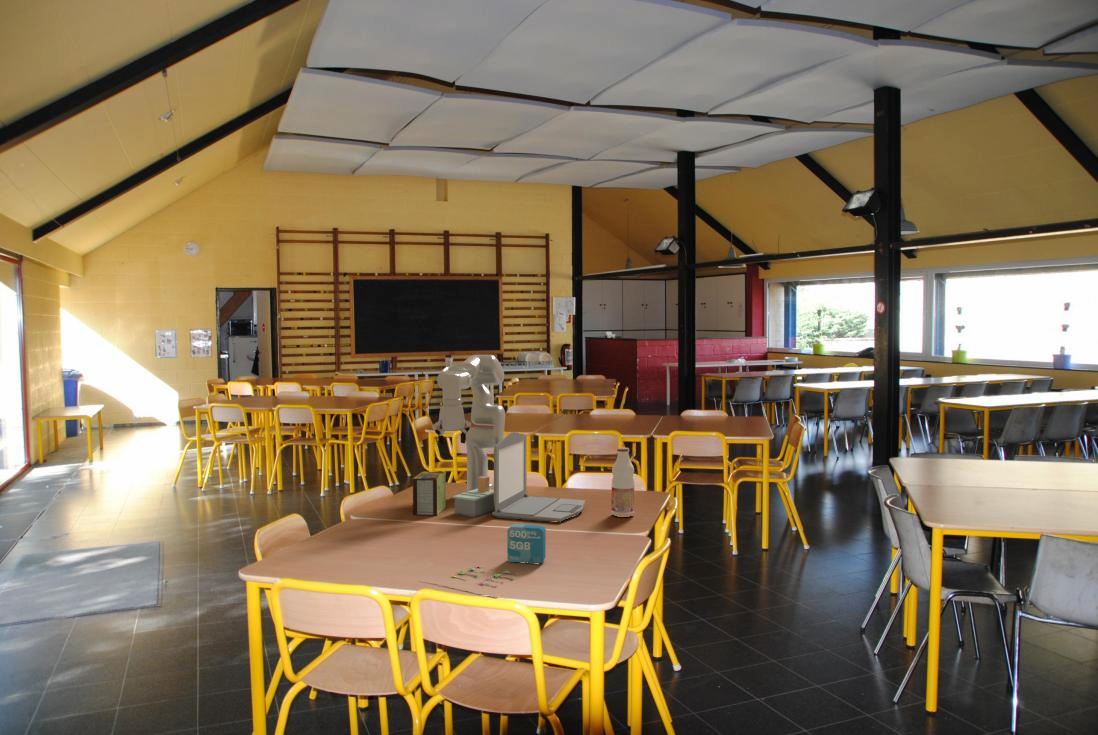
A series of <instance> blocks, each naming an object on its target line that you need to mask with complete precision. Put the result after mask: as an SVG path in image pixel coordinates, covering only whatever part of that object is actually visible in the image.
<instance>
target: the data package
mask: <svg viewBox="0 0 1098 735" xmlns="http://www.w3.org/2000/svg"><path fill="white" fill-rule="evenodd" d="M546 531H547V530H546V527H545V526H544V525H542V524H525V523H523V524H522V523H513V524H511V525H510V526H509V527H508V529H507V532H506V533H507V535H506V538H507V540H506V541H507V542H506V543H507V544H506V545H507V546H506V549H507V550H506V552H507V553H506V555H507V561H508V562H509V563H510V562H525V563H527V562H528V563H541V564H543V562H544V561H545V559H546V549H547V548H546V543H547V542H546V541H547V540H546V539H547V538H546V537H547V536H546V534H547V533H546Z"/></svg>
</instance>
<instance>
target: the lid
mask: <svg viewBox="0 0 1098 735" xmlns="http://www.w3.org/2000/svg"><path fill="white" fill-rule="evenodd" d="M489 484H490V476H488V477H485V476H481V477H478V489H474V490H471V491H468V492H467V491H465V493H464V492H462V493H459V494H456V495H453V496H452V499H455V498H456V499H464V500H472V501H477V500H480V499H483V498H486V497H488V496H491V495H494V489H492V488H490V489H489Z"/></svg>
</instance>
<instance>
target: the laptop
mask: <svg viewBox="0 0 1098 735" xmlns="http://www.w3.org/2000/svg"><path fill="white" fill-rule="evenodd" d="M527 438H528V437H527V435H526V434H523V433H519V432H516V431H515V432H514V431H511V432H509V433H508V434H507V435H505V436H504V437H503V440H501V441H500V442H499V443H498V444H497V445H496V446H495V448H493V490H494V506H495V510H494V511H492V512H491V514H492V516H493V517H495V518H498V519H506V520H507V519H508V520H509V519H510V520H518V519H521V520H520V521H530V520H538V521H537V522H541V521H557V522H560V521H563V520H565V519H567V518H570V517H572V516H574V515H577V514H578V515H579V513H580V512H581V513H582V512H583V510H584V507H585V504H586V500H585V499H584V500H583V499H573V498H560V497H548V496H537V495H536V496H535V495H528V494H527V474H528V473H527V469H528V468H527V465H528V463H527V462H528V460H527V456H528V455H527V452H528V451H527V450H528V448H527V440H528V439H527ZM578 515H577V516H578ZM572 518H573V517H572ZM570 519H571V518H570ZM565 521H566V520H565ZM563 522H564V521H563ZM560 523H561V522H560Z"/></svg>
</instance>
